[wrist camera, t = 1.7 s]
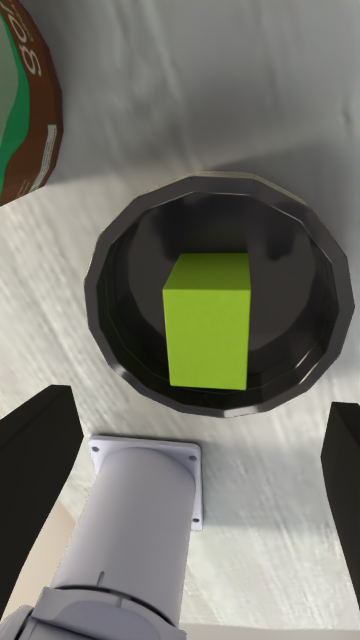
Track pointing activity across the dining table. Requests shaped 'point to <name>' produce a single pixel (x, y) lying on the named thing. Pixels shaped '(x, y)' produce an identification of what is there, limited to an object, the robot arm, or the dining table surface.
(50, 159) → the food container
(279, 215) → the bowl
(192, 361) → the green block
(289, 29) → the dining table surface
